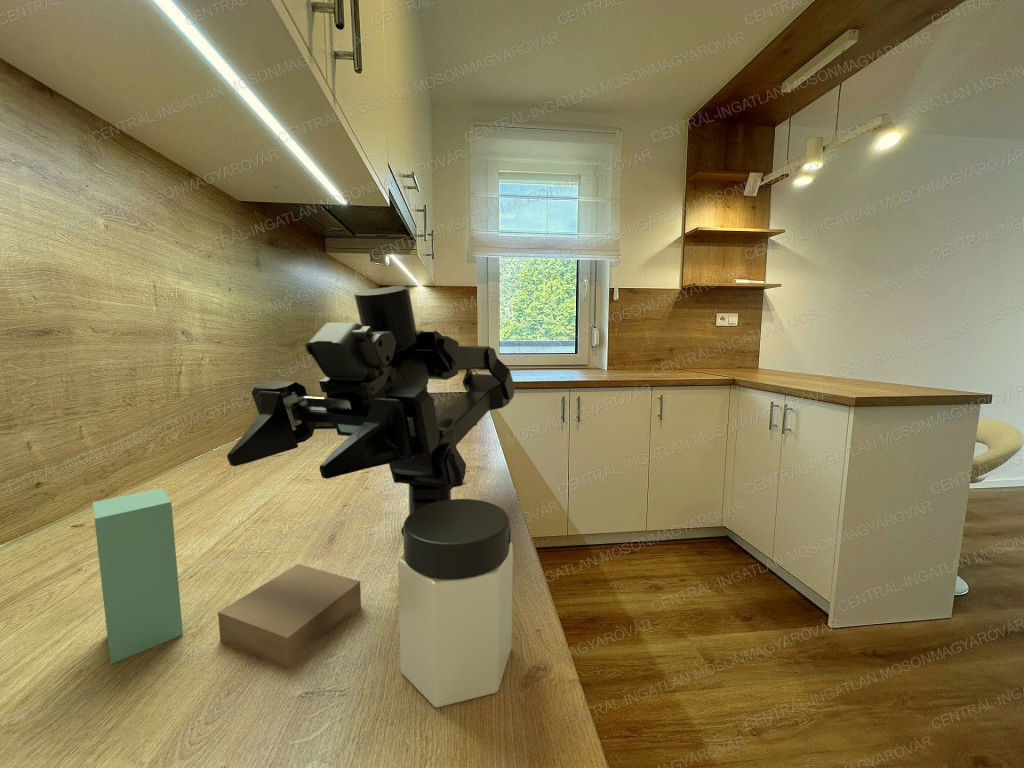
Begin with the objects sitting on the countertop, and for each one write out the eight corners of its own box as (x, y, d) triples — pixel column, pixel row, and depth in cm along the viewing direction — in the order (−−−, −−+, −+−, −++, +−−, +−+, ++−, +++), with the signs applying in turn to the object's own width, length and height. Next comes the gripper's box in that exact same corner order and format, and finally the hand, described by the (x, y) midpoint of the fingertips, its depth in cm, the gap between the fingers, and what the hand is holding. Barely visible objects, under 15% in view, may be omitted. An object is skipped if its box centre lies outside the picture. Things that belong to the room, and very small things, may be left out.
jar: (533, 662, 33) (536, 519, 32) (454, 732, 27) (452, 560, 26) (461, 611, 39) (461, 489, 38) (383, 659, 33) (379, 517, 32)
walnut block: (299, 591, 42) (298, 563, 42) (361, 610, 40) (360, 581, 39) (220, 644, 35) (217, 612, 35) (289, 673, 32) (287, 637, 32)
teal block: (174, 610, 39) (163, 488, 37) (182, 634, 36) (171, 501, 34) (107, 635, 35) (92, 502, 34) (110, 664, 32) (94, 518, 31)
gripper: (298, 316, 45) (147, 366, 32) (452, 315, 40) (350, 375, 26) (324, 406, 49) (201, 485, 36) (466, 416, 44) (385, 514, 30)
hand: (274, 467), depth 32 cm, fingers open, 9 cm apart
